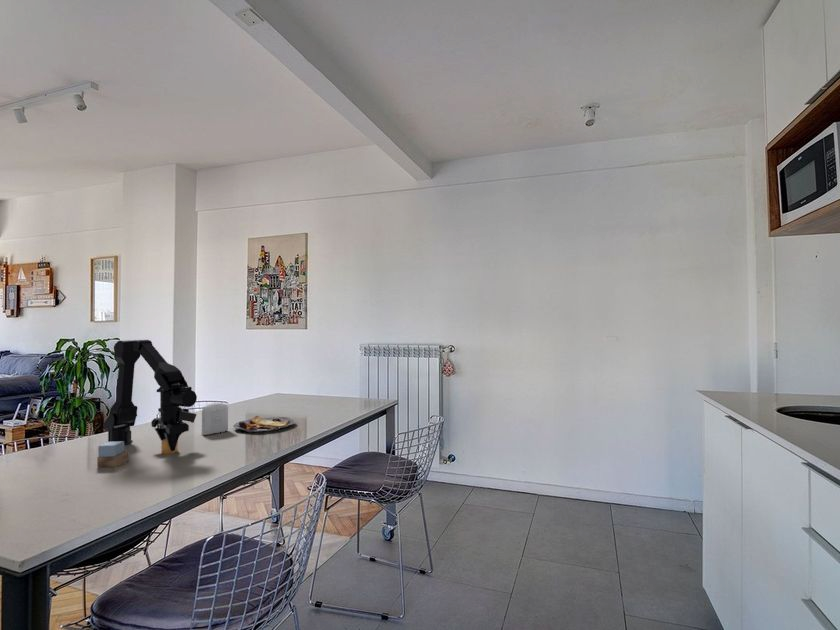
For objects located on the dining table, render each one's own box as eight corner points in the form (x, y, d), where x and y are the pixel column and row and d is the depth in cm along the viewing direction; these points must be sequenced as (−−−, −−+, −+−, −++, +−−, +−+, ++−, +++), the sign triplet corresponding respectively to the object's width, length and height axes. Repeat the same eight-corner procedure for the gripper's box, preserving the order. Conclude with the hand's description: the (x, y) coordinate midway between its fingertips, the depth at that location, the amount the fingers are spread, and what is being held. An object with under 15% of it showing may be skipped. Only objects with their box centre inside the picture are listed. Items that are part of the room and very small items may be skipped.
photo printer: (225, 429, 187) (225, 400, 187) (229, 431, 184) (229, 402, 184) (200, 434, 180) (200, 404, 180) (203, 436, 177) (203, 405, 177)
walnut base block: (97, 468, 139) (97, 457, 139) (109, 462, 145) (109, 451, 145) (116, 467, 139) (116, 456, 139) (128, 461, 145) (128, 451, 145)
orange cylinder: (158, 454, 152) (158, 441, 152) (166, 450, 157) (166, 438, 157) (173, 454, 152) (173, 441, 152) (180, 450, 157) (180, 437, 157)
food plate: (221, 431, 184) (222, 422, 185) (259, 420, 206) (260, 412, 206) (270, 437, 176) (270, 428, 176) (304, 425, 198) (304, 417, 198)
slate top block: (98, 456, 139) (98, 445, 139) (108, 452, 144) (108, 441, 144) (114, 456, 140) (114, 445, 140) (124, 451, 145) (124, 441, 145)
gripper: (204, 404, 155) (204, 448, 155) (183, 399, 167) (183, 440, 167) (169, 409, 147) (169, 456, 146) (150, 403, 159) (151, 446, 159)
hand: (169, 449), depth 155 cm, fingers open, 6 cm apart
